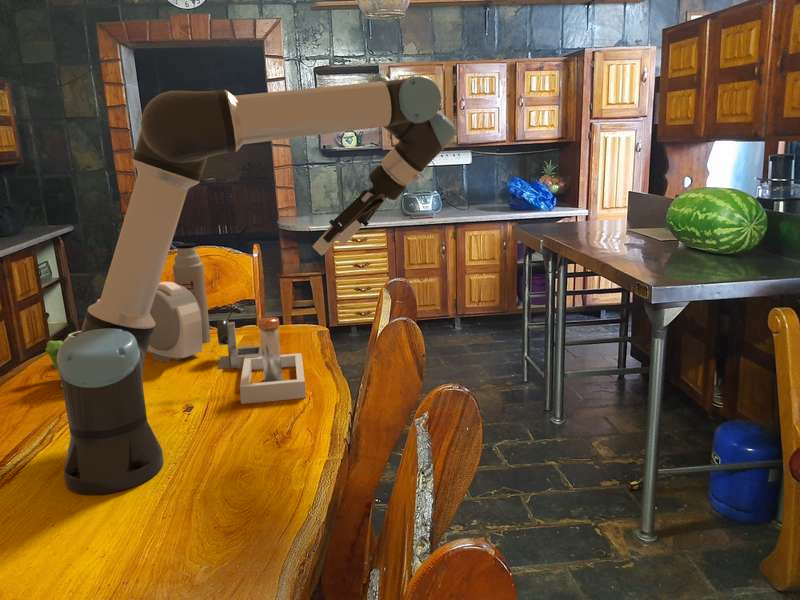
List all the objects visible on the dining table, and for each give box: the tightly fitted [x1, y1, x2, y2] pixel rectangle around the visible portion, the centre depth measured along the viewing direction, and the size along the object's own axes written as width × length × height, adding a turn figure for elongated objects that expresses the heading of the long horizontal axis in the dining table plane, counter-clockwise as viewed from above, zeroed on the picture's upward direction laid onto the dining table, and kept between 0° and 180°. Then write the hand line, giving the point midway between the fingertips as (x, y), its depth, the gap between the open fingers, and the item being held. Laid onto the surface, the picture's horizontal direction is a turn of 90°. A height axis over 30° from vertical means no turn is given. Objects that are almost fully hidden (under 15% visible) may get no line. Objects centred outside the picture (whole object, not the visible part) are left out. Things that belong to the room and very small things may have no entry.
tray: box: [239, 352, 307, 405], centre depth 142 cm, size 20×14×4 cm
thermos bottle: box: [172, 242, 211, 345], centre depth 173 cm, size 8×8×28 cm
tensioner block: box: [216, 318, 262, 370], centre depth 155 cm, size 13×14×11 cm
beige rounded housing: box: [147, 281, 203, 363], centre depth 159 cm, size 18×8×20 cm, turn 58°
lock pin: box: [257, 316, 283, 382], centre depth 140 cm, size 5×5×15 cm
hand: (328, 246), depth 135 cm, fingers open, 13 cm apart
